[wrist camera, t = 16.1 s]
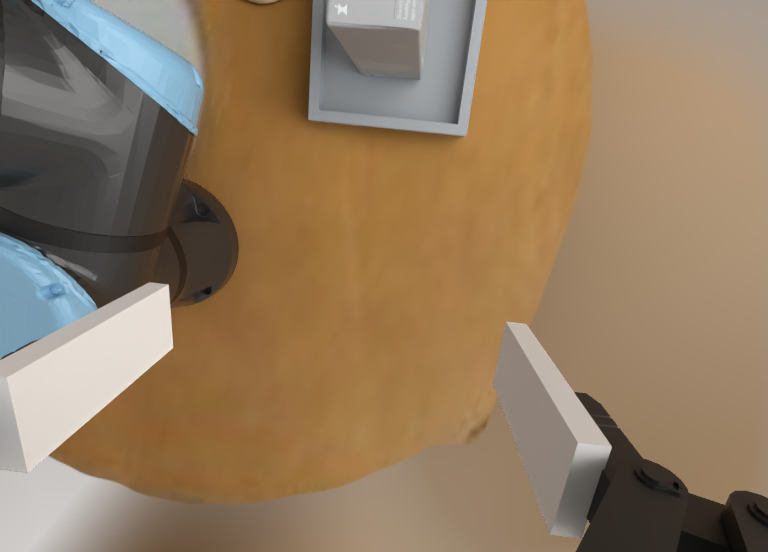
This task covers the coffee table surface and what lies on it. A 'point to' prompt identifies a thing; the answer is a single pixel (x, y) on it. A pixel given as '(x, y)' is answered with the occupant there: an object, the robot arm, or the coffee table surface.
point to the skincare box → (382, 35)
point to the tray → (398, 95)
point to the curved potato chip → (263, 1)
